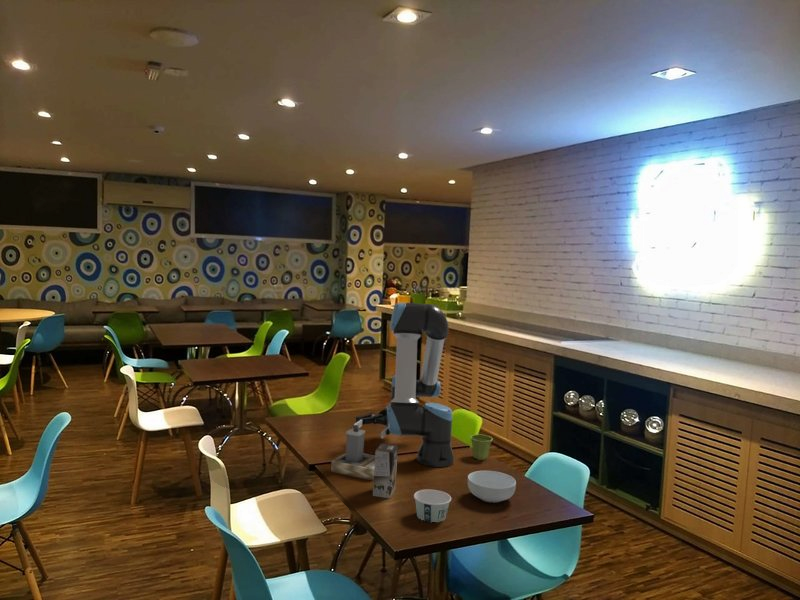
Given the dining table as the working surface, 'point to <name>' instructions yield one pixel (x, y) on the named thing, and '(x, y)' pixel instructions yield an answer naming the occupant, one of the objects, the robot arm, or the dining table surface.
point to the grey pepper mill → (355, 444)
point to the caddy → (355, 467)
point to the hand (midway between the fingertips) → (367, 431)
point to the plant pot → (481, 446)
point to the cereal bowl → (491, 485)
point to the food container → (432, 505)
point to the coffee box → (385, 470)
